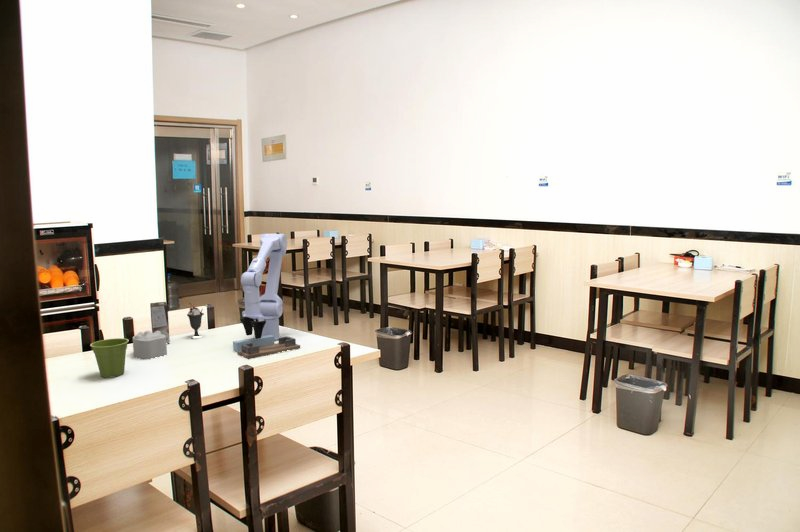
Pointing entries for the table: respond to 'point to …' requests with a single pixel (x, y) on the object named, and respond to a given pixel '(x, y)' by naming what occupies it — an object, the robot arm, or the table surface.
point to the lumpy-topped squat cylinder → (149, 345)
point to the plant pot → (110, 356)
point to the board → (268, 348)
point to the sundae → (195, 318)
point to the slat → (256, 342)
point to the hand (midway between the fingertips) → (253, 336)
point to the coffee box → (160, 318)
